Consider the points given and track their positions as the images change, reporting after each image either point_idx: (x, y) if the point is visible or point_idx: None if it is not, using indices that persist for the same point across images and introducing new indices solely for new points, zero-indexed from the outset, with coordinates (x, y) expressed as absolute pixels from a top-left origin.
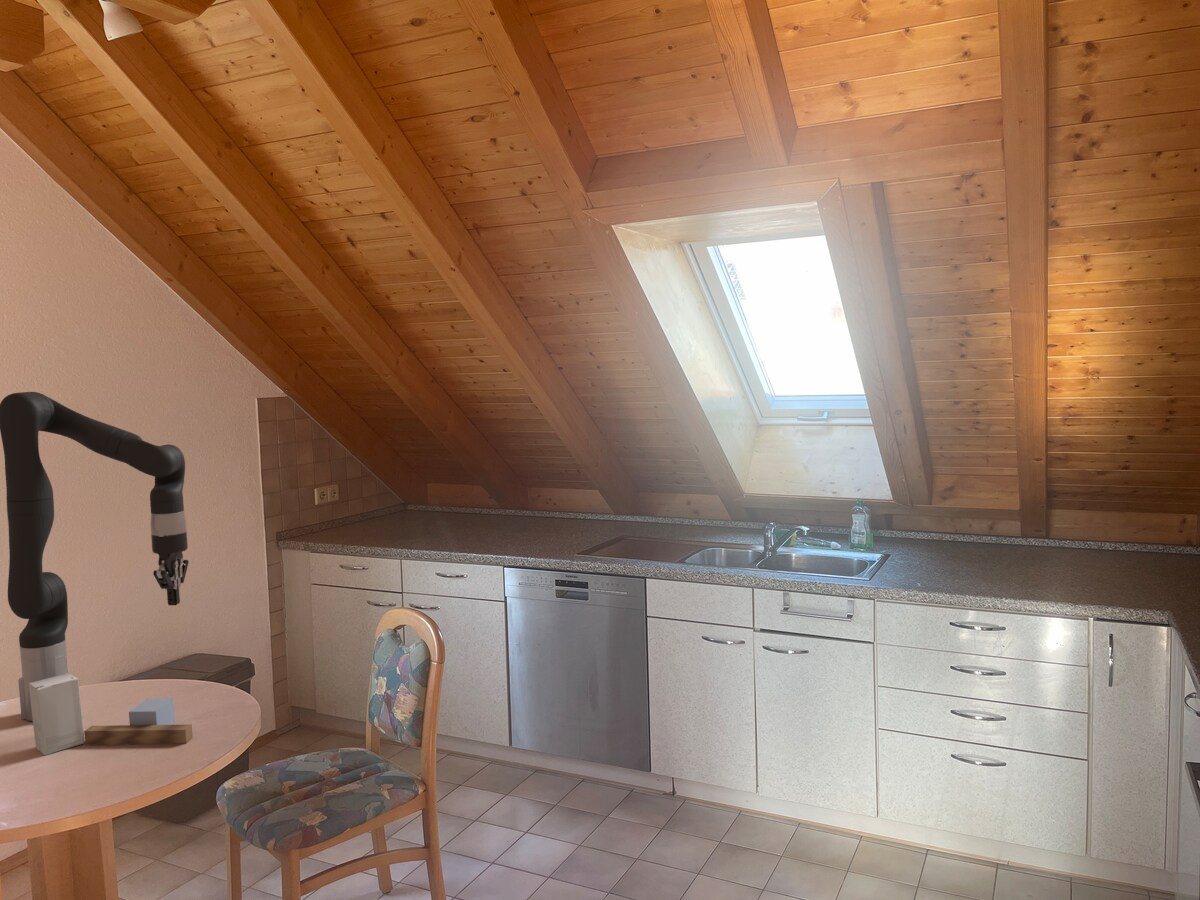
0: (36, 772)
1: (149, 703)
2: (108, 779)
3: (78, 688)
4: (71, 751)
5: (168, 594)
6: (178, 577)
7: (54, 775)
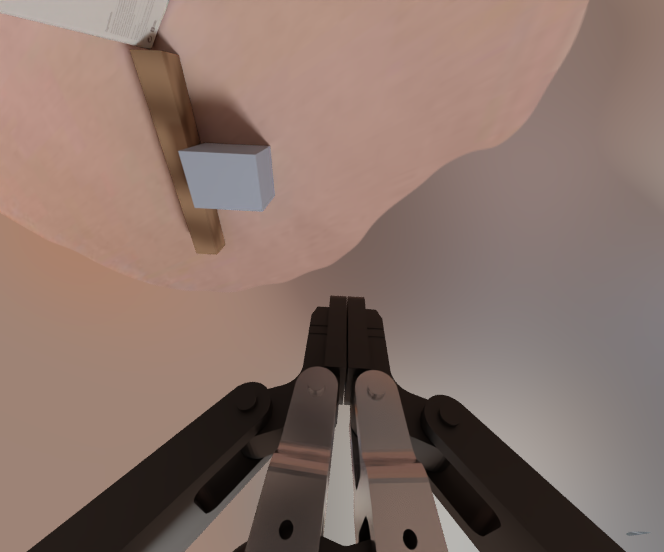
0: (7, 22)
1: (229, 174)
2: (69, 189)
3: (14, 15)
4: (113, 40)
5: (306, 353)
6: (355, 503)
7: (24, 79)
